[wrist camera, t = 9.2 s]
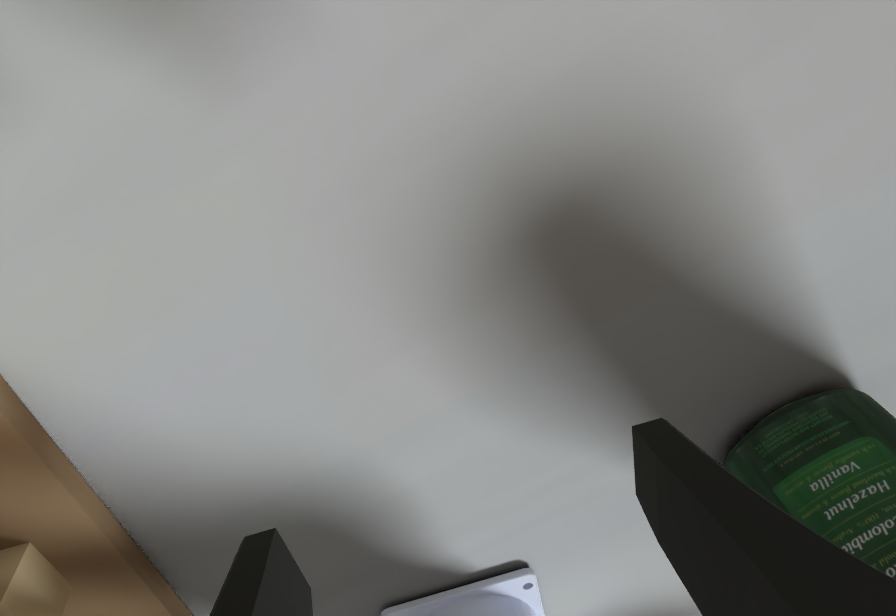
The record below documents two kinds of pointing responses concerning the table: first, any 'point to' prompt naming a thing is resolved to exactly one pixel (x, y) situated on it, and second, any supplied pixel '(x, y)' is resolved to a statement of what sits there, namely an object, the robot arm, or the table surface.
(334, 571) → the table surface
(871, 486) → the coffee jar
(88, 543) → the display stand
